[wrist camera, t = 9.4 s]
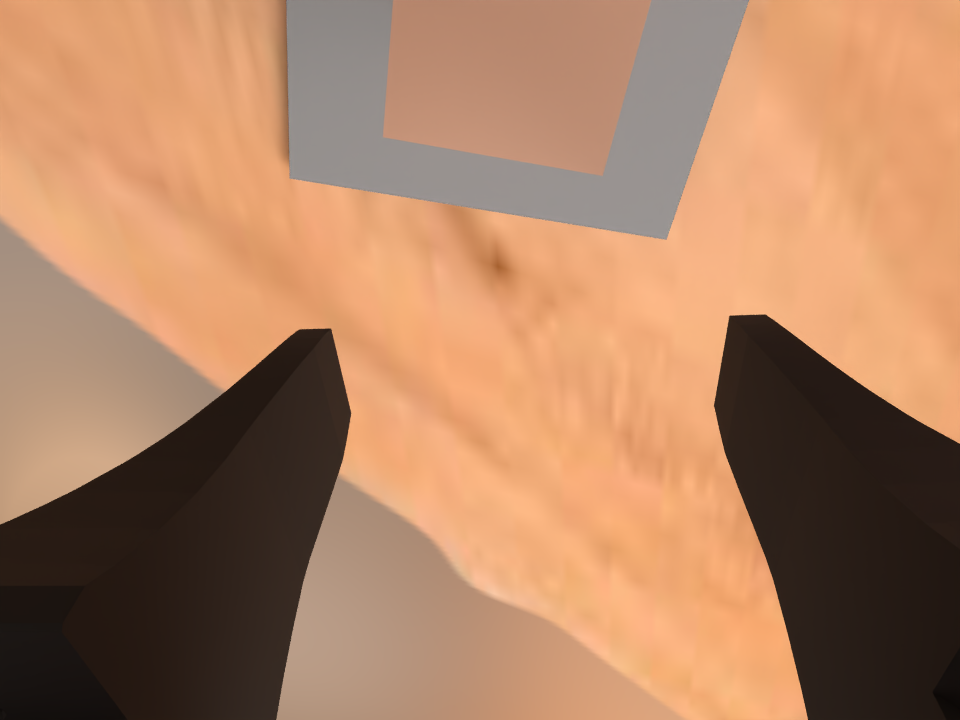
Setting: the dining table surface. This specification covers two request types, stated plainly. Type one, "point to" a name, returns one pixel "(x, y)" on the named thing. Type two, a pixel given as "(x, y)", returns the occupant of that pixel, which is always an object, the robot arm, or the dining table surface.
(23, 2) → the dining table surface
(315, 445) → the robot arm
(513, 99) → the terracotta block
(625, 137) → the slate mat
